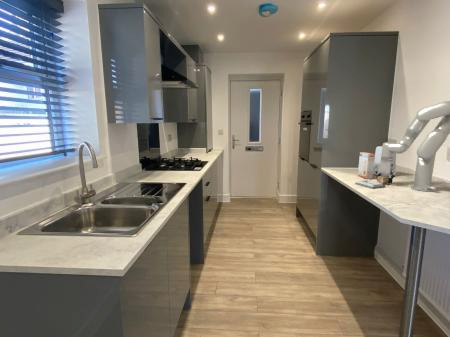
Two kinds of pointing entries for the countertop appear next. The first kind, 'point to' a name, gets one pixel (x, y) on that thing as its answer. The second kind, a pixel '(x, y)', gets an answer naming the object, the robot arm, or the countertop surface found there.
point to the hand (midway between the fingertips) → (384, 181)
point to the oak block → (383, 180)
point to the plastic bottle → (378, 158)
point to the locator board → (370, 184)
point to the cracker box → (366, 165)
